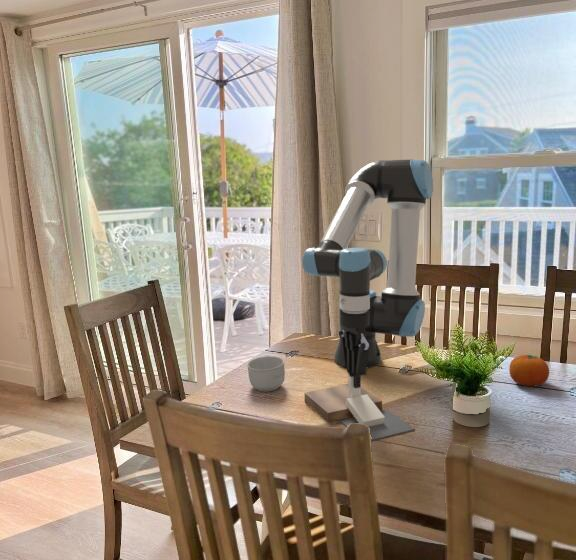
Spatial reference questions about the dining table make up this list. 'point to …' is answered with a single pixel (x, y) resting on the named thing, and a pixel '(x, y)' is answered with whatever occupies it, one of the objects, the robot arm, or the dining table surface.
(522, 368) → the fruit
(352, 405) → the white rectangular block
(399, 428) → the mat
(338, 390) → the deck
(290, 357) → the dining table surface
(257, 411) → the dining table surface
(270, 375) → the teacup
